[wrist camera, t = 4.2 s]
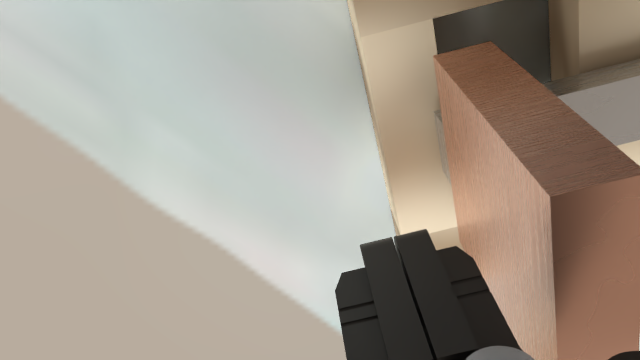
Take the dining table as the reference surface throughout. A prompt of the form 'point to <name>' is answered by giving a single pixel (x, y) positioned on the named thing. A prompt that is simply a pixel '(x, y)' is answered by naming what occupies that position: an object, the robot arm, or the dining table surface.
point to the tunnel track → (422, 95)
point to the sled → (547, 197)
